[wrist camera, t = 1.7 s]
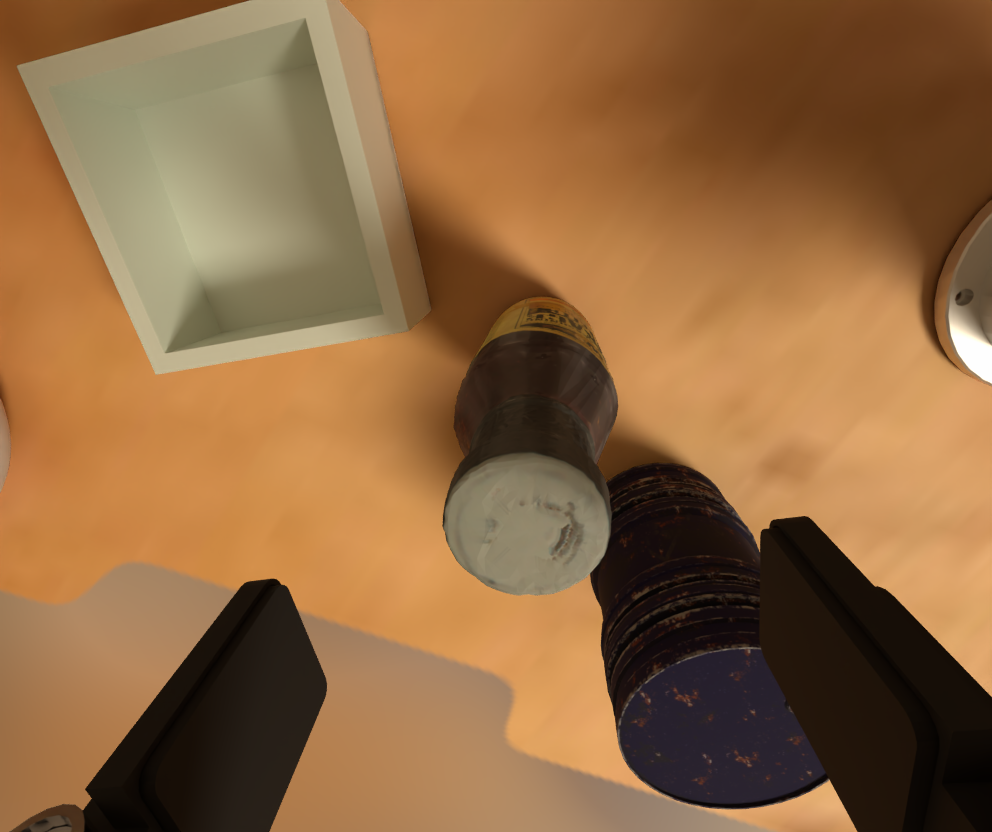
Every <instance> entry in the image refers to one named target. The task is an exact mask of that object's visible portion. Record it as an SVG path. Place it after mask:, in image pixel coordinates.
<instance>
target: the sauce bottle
mask: <svg viewBox="0 0 992 832" xmlns="http://www.w3.org/2000/svg"><path fill="white" fill-rule="evenodd" d="M617 410H618V399H617V393H616V389H615V385H614V382H613V378H612V376H611V374H610V372H609V370H608V368H607V364H606V361H605V359H604V356H603V355H602V352H601V349H600V347H599V345H598V343H597V340H596V338H595V335H594V333H593V331H592V328H591V326H590V325H589V323H588V321H587V320H586V318H585V317H584V316H583V315H582V314H581V313H580V312H579V311H578V310H577V309H576V308H575V307H574V306H572V305H570V304H568V303H567V302H565V301H563V300H560V299H556V298H551V297H546V296H542V297H532V298H527V299H524V300H522V301H519V302H517V303H515V304H514V305H512V306H511V307H509V308H508V309H507V310H506V311H504V312H503V313H502V314H501V315H500V317H499V318H498V319H497V320H496V322H495V323H494V325H493V327H492V328H491V330H490V332H489V334H488V336H487V337H486V339H485V341H484V343H483V344H482V346H481V348H480V349H479V351H478V352H477V354H476V356H475V357H474V359H473V361H472V363H471V365H470V367H469V369H468V371H467V374H466V377H465V378H464V379H463V380H462V384H461V387H460V390H459V392H458V396H457V401H456V405H455V416H454V430H455V432H456V436H457V439H458V441H459V445H460V448H461V450H462V451H463V453H464V456H465V458H464V459H463V461H462V462H461V463H460V465H459V467H458V469H457V470H456V472H455V474H454V477H453V479H452V481H451V484H450V487H449V490H448V493H447V498H446V501H445V506H444V513H443V529H444V531H445V535H446V541H447V543H448V545H449V547H450V550H451V551H452V553H453V555H454V557H455V559H456V560H457V561H458V563H459V564H460V565H461V566H462V567H463V568H464V569H465V570H467V571H468V572H469V573H470V574H472V575H473V576H475V577H476V578H477V579H479V580H480V581H481V582H482V583H484V584H485V585H486V586H488V587H491V588H493V589H496V590H498V591H501V592H505V593H508V594H513V595H527V594H530V595H547V594H554V593H556V592H559V591H562V590H565V589H567V588H569V587H571V586H573V585H574V584H576V583H578V582H580V581H581V580H583V579H585V578H586V577H587V576H588V575H589V574H590V573H591V572H592V571H593V569H594V568H595V567H596V566H597V565H598V564H599V563H600V561H601V559H602V558H603V557H604V555H605V552H606V550H607V546H608V542H609V538H610V535H611V517H612V512H611V506H610V497H609V490H608V487H607V484H606V481H605V478H604V477H603V475H602V473H601V472H600V470H599V468H598V466H597V462H598V460H599V458H600V455H601V453H602V450H603V448H604V446H605V443H606V441H607V439H608V436H609V434H610V432H611V429H612V427H613V425H614V422H615V419H616V416H617Z"/></svg>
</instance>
